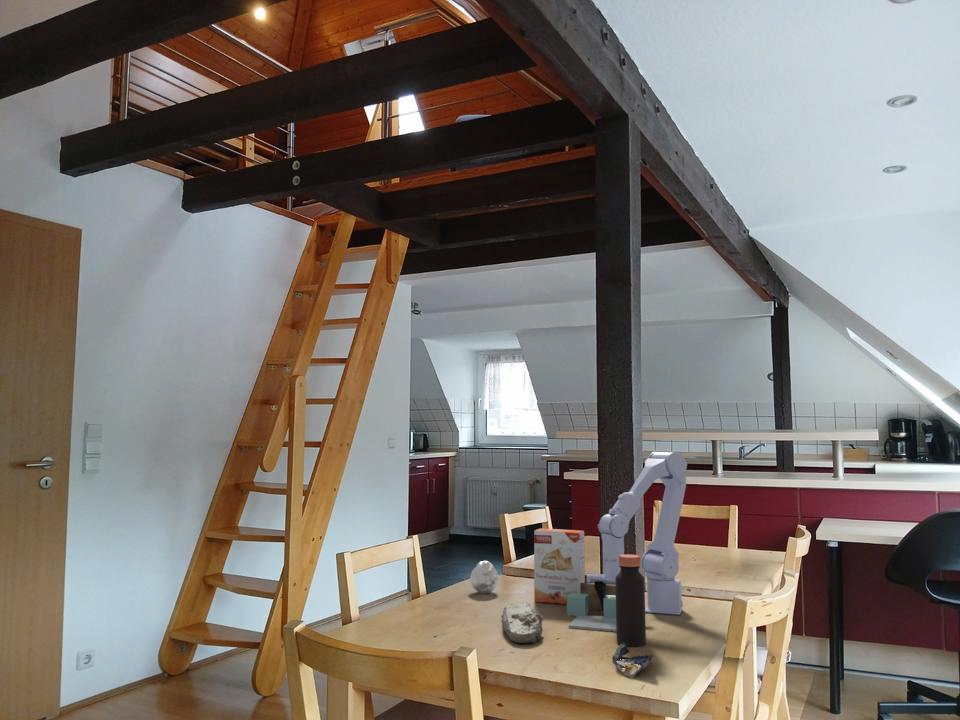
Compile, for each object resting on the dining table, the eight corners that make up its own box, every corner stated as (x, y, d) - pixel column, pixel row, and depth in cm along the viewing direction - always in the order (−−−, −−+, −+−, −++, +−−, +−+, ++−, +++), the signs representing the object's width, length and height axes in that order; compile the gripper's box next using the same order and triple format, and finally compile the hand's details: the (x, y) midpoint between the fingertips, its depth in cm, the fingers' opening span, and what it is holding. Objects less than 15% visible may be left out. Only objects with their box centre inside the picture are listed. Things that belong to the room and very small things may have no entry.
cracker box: (533, 602, 217) (533, 529, 219) (539, 598, 223) (539, 527, 225) (580, 606, 212) (579, 532, 214) (585, 602, 217) (584, 529, 220)
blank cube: (588, 612, 205) (588, 594, 205) (585, 616, 200) (584, 597, 201) (571, 611, 206) (570, 592, 207) (567, 615, 202) (566, 596, 202)
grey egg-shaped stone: (466, 595, 227) (466, 562, 228) (473, 589, 236) (473, 557, 237) (495, 597, 225) (495, 563, 226) (501, 591, 234) (501, 558, 235)
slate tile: (623, 620, 195) (623, 618, 195) (616, 631, 184) (616, 629, 184) (578, 617, 199) (578, 614, 199) (568, 627, 188) (568, 625, 188)
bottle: (625, 637, 179) (623, 552, 181) (651, 642, 174) (649, 555, 176) (611, 643, 173) (609, 556, 176) (637, 648, 169) (635, 559, 171)
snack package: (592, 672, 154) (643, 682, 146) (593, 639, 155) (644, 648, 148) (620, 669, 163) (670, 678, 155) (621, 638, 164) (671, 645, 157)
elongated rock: (535, 617, 206) (499, 619, 206) (534, 597, 207) (498, 599, 207) (548, 644, 172) (505, 647, 172) (547, 620, 173) (504, 623, 172)
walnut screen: (628, 610, 207) (628, 584, 208) (626, 613, 203) (625, 587, 204) (582, 606, 211) (582, 581, 212) (579, 609, 208) (579, 584, 208)
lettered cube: (625, 615, 201) (625, 595, 202) (622, 619, 197) (622, 598, 197) (607, 613, 203) (606, 593, 204) (603, 617, 198) (603, 597, 199)
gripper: (584, 560, 200) (584, 612, 199) (638, 563, 195) (639, 616, 194) (589, 556, 207) (590, 606, 205) (642, 559, 202) (643, 610, 201)
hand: (614, 611), depth 200 cm, fingers closed on lettered cube, 5 cm apart
